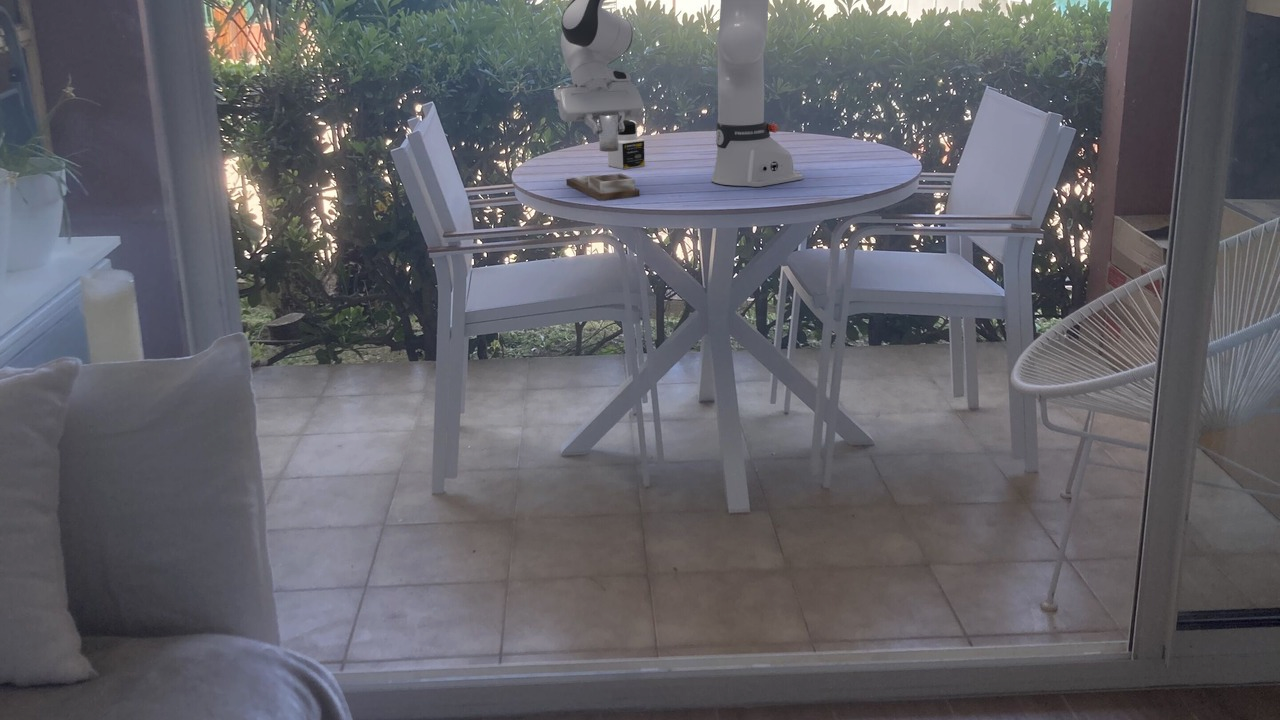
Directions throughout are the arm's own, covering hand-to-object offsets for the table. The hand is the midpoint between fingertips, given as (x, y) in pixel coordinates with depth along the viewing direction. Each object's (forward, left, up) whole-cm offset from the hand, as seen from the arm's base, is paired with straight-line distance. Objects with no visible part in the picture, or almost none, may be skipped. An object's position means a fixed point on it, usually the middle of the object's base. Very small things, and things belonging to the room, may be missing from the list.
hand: (609, 131), depth 263 cm
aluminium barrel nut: (0, -1, -4) cm, 4 cm away
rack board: (0, -7, -15) cm, 16 cm away
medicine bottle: (-18, -34, -15) cm, 41 cm away
